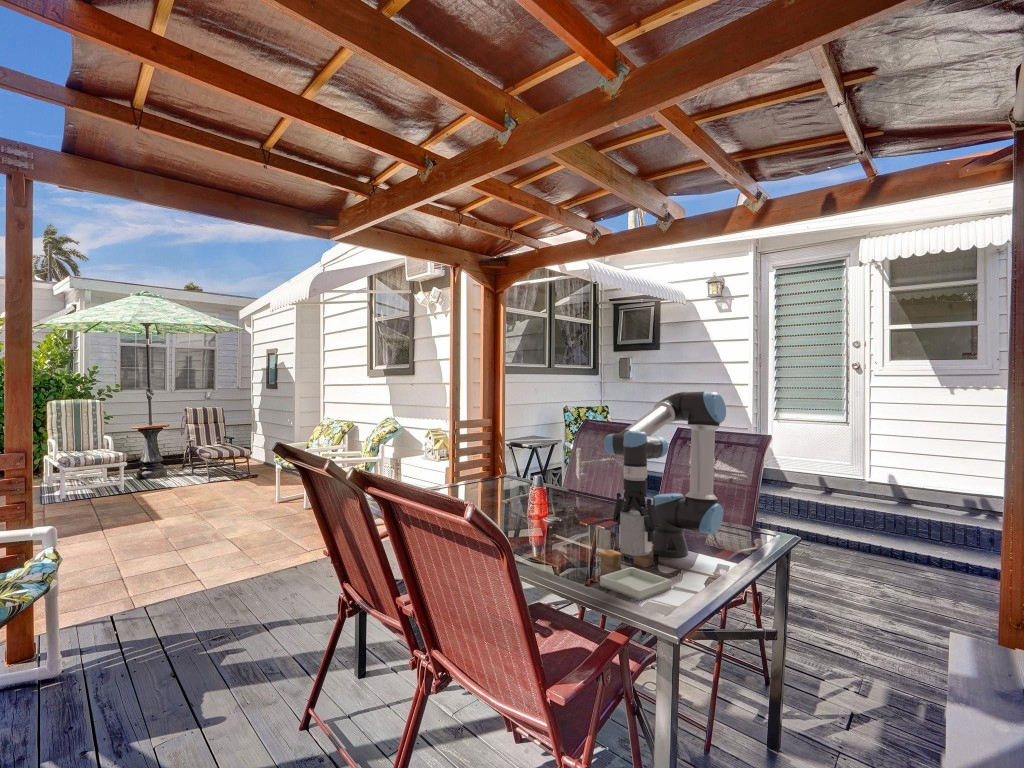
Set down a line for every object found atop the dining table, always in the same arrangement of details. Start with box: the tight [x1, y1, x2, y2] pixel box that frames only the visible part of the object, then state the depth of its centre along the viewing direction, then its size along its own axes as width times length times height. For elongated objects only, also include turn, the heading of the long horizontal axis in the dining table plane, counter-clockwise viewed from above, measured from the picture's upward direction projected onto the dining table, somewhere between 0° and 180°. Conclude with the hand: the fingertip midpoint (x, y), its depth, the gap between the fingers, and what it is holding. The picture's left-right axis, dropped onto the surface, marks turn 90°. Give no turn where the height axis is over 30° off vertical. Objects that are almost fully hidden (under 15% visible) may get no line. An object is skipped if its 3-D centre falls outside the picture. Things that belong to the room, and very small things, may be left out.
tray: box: [599, 566, 672, 602], centre depth 162 cm, size 16×16×3 cm
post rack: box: [599, 544, 654, 576], centre depth 180 cm, size 23×5×8 cm, turn 127°
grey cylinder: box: [619, 509, 650, 556], centre depth 163 cm, size 10×10×12 cm
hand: (635, 547), depth 163 cm, fingers closed on grey cylinder, 9 cm apart
